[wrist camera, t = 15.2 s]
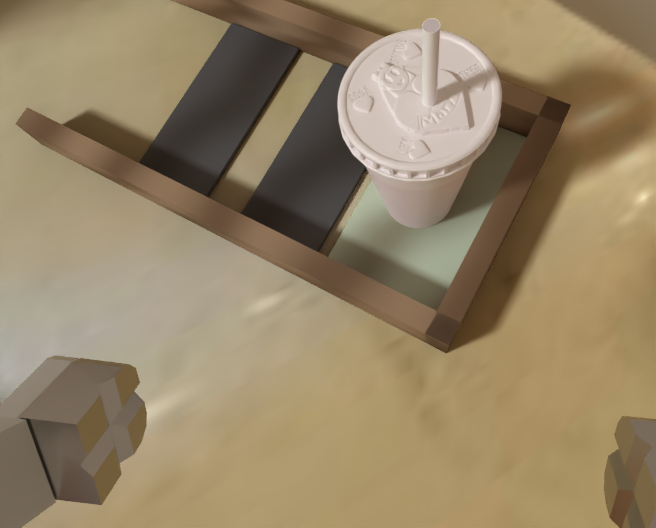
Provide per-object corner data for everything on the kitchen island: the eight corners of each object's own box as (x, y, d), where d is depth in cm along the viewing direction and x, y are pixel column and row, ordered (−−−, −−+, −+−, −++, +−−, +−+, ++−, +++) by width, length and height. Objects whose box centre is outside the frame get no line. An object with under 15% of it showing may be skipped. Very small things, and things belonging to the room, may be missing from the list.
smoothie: (428, 276, 30) (435, 146, 17) (336, 206, 32) (275, 40, 19) (504, 185, 31) (567, -8, 17) (409, 123, 33) (401, -94, 19)
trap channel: (41, 144, 36) (15, 123, 34) (159, -22, 39) (142, -52, 37) (446, 353, 29) (448, 345, 27) (559, 130, 31) (570, 105, 29)
